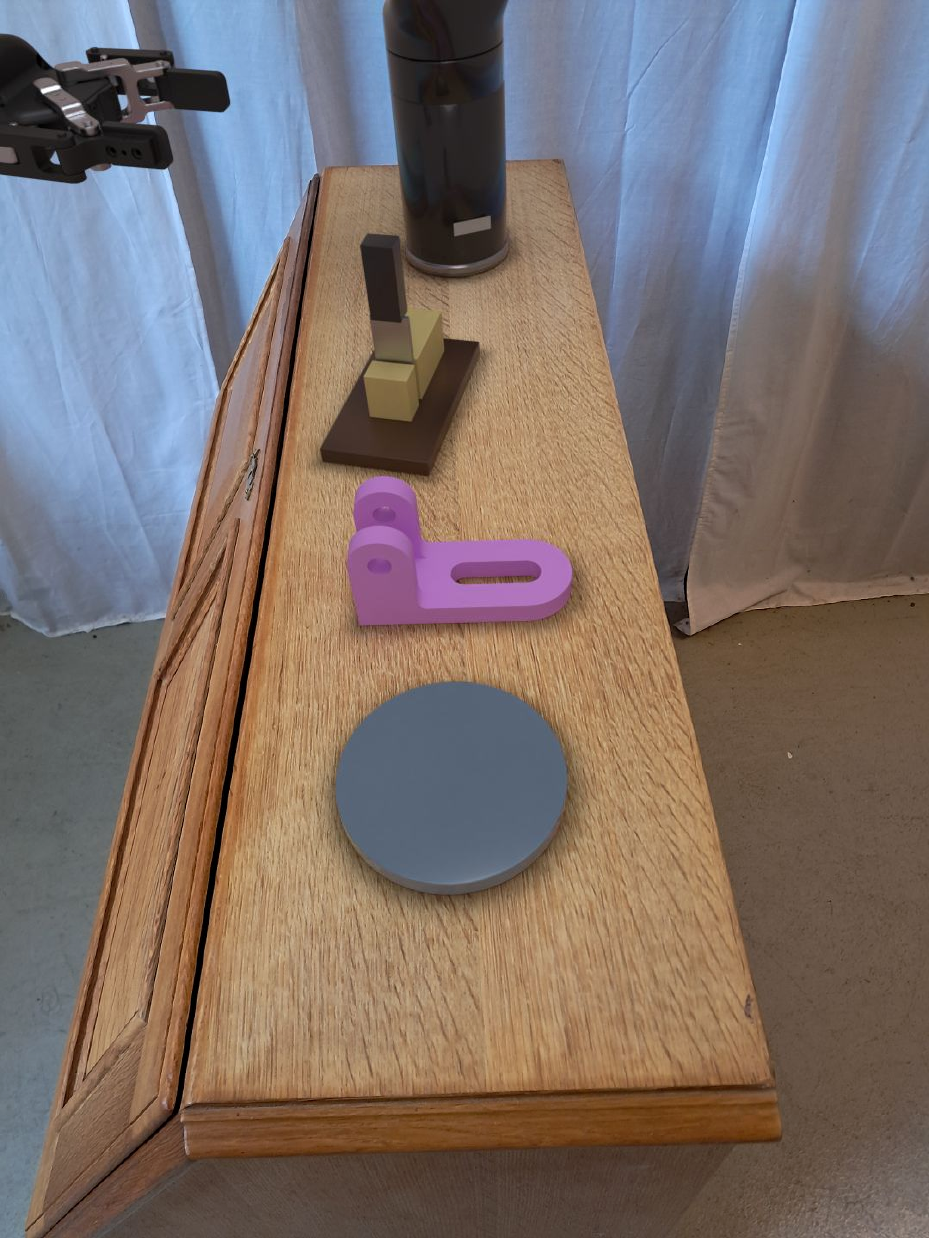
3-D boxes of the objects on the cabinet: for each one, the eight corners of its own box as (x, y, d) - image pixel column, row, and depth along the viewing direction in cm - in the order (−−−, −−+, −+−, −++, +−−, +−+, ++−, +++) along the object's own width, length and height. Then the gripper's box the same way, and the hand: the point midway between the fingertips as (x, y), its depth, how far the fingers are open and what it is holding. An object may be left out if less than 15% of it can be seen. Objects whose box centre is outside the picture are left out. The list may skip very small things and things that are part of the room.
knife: (385, 391, 69) (363, 232, 60) (421, 395, 68) (404, 235, 59) (378, 404, 68) (355, 244, 59) (414, 408, 67) (396, 248, 58)
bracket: (359, 625, 56) (341, 544, 50) (366, 559, 59) (350, 477, 54) (574, 619, 55) (579, 537, 50) (568, 553, 59) (572, 469, 53)
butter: (405, 346, 73) (401, 307, 70) (444, 351, 72) (441, 310, 69) (381, 395, 69) (375, 354, 66) (421, 399, 68) (417, 359, 65)
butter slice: (378, 400, 68) (372, 360, 66) (419, 405, 68) (414, 364, 65) (369, 417, 67) (363, 376, 64) (411, 422, 66) (406, 381, 64)
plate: (379, 677, 53) (376, 664, 52) (584, 714, 51) (585, 701, 50) (305, 865, 46) (300, 855, 45) (541, 920, 43) (542, 909, 42)
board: (385, 344, 75) (383, 331, 74) (480, 354, 74) (479, 341, 73) (322, 462, 66) (319, 449, 65) (428, 476, 64) (427, 463, 63)
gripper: (-142, 76, 51) (126, 96, 48) (-1, -4, 60) (231, 9, 57) (-79, 210, 56) (164, 235, 54) (41, 118, 65) (254, 136, 63)
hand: (198, 119), depth 56 cm, fingers open, 8 cm apart
